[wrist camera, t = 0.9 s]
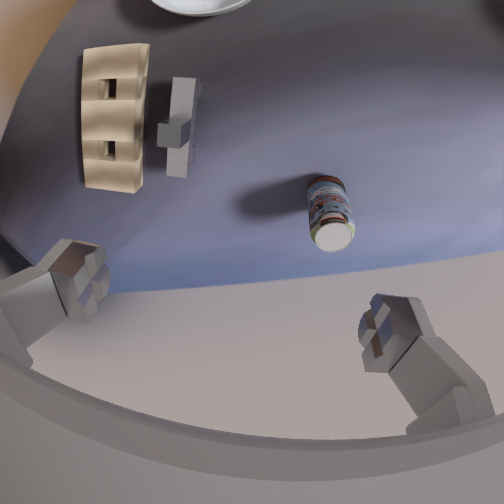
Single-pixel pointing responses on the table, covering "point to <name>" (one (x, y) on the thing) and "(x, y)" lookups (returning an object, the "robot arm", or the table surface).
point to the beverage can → (330, 214)
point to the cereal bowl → (200, 6)
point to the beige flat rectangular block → (114, 116)
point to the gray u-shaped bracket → (180, 126)
